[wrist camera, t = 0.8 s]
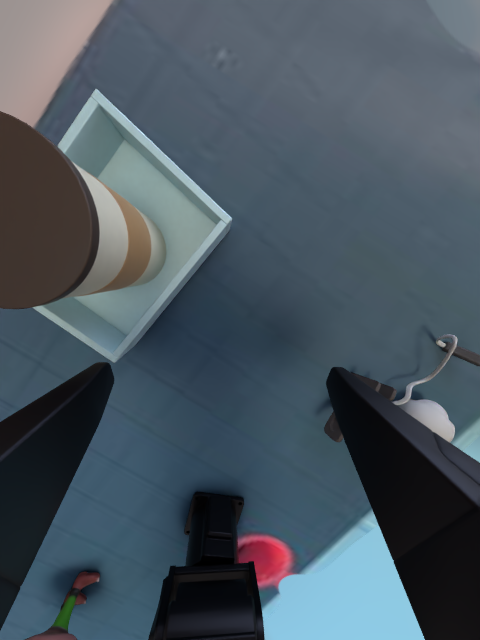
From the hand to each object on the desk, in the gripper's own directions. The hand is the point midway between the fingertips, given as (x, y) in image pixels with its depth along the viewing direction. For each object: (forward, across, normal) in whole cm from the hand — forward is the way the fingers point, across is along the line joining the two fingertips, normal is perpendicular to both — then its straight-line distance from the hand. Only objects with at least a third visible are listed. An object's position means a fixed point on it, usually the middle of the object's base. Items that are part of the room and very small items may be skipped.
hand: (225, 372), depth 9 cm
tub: (+15, +9, -1) cm, 18 cm away
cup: (+15, +9, -1) cm, 17 cm away
